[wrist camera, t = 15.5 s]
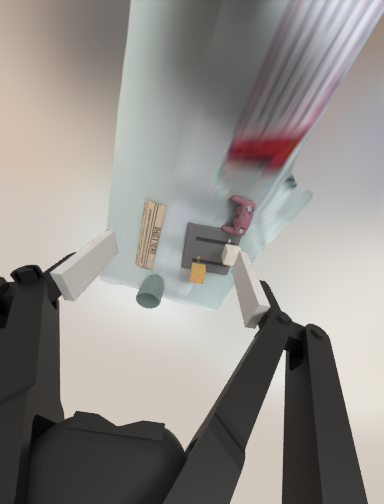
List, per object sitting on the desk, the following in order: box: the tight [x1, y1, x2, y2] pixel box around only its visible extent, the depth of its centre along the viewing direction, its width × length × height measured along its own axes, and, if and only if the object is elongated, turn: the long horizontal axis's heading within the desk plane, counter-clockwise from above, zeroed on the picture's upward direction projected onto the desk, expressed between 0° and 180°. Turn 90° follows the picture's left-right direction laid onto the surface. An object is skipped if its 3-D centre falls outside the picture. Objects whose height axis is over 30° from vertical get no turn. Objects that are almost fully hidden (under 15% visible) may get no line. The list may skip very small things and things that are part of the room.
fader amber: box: [189, 260, 206, 284], centre depth 45 cm, size 4×4×8 cm
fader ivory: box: [222, 243, 242, 266], centre depth 41 cm, size 4×4×8 cm
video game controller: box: [222, 196, 255, 236], centre depth 38 cm, size 10×5×7 cm, turn 171°
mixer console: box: [182, 223, 242, 275], centre depth 47 cm, size 16×16×1 cm
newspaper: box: [136, 199, 166, 268], centre depth 46 cm, size 24×7×2 cm, turn 161°
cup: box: [136, 275, 164, 308], centre depth 52 cm, size 8×8×10 cm
